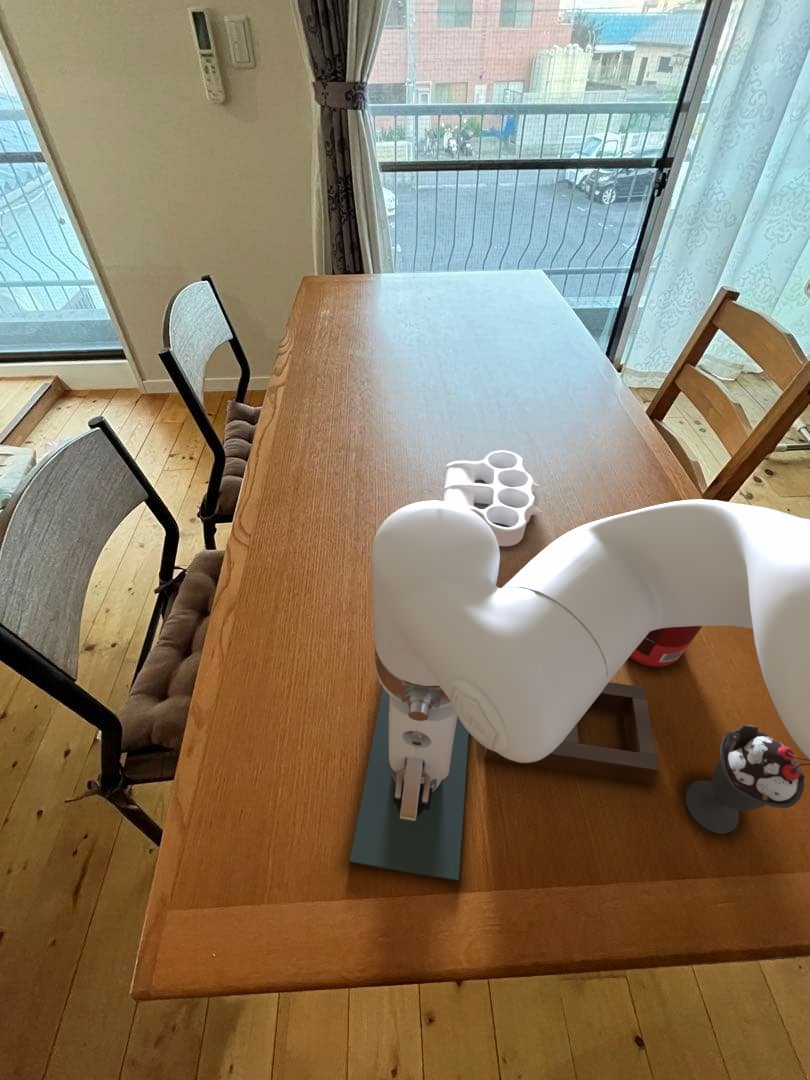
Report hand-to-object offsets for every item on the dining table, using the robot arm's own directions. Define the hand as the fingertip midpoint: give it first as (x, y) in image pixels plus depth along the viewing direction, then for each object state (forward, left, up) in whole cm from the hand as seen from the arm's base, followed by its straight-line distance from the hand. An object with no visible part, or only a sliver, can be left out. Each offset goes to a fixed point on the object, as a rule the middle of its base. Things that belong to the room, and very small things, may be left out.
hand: (418, 750), depth 52 cm
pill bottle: (0, 0, -5) cm, 5 cm away
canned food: (+20, -26, -6) cm, 33 cm away
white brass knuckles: (+42, -6, -6) cm, 43 cm away
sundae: (+1, -29, -6) cm, 30 cm away
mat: (0, 0, -6) cm, 6 cm away
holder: (+7, -15, -6) cm, 17 cm away
